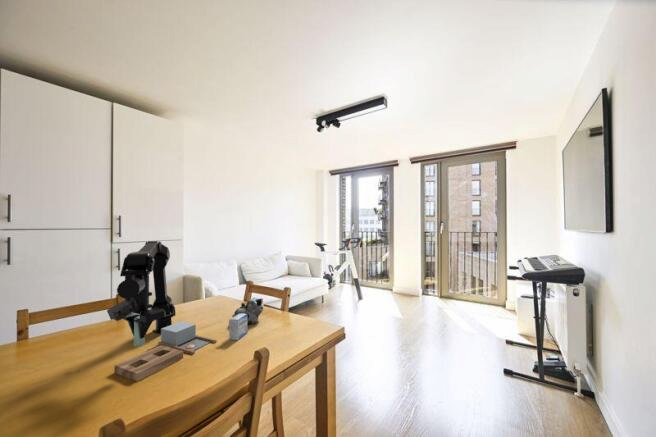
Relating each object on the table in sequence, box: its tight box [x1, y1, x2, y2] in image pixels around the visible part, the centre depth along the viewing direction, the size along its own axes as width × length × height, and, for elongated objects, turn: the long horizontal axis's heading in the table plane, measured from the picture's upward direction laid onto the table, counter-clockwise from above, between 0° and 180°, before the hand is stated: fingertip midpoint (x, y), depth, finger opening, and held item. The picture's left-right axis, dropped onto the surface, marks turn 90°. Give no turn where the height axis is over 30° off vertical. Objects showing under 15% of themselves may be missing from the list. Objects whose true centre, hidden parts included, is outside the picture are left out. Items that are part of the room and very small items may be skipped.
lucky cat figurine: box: [231, 297, 265, 326], centre depth 137 cm, size 15×12×14 cm
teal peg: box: [133, 316, 146, 347], centre depth 91 cm, size 3×3×9 cm
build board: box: [113, 345, 184, 382], centre depth 95 cm, size 12×16×2 cm
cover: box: [160, 320, 197, 347], centre depth 114 cm, size 9×9×6 cm
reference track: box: [157, 334, 217, 355], centre depth 112 cm, size 20×11×1 cm, turn 66°
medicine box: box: [228, 313, 248, 341], centre depth 119 cm, size 8×4×9 cm, turn 168°
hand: (138, 337), depth 91 cm, fingers closed on teal peg, 3 cm apart
